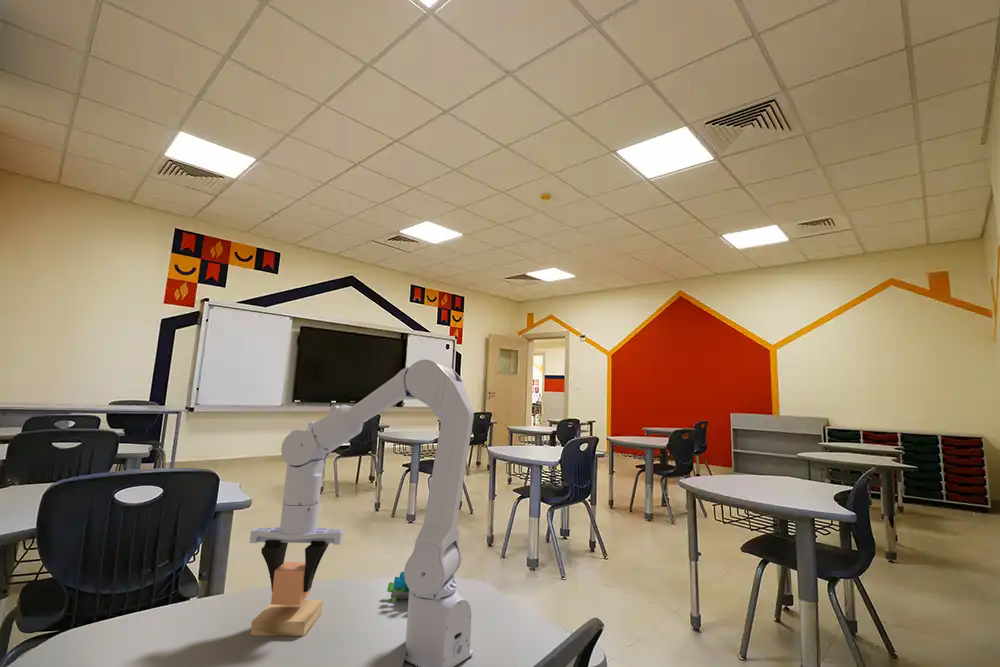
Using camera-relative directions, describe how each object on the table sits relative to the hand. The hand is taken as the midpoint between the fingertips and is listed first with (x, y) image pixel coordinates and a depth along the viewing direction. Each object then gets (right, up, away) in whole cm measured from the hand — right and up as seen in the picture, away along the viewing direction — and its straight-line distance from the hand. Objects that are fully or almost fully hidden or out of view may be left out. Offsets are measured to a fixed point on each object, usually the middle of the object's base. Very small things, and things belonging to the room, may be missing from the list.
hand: (291, 589), depth 75 cm
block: (0, -1, 0) cm, 1 cm away
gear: (+18, -9, +10) cm, 23 cm away
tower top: (0, -5, -1) cm, 5 cm away
